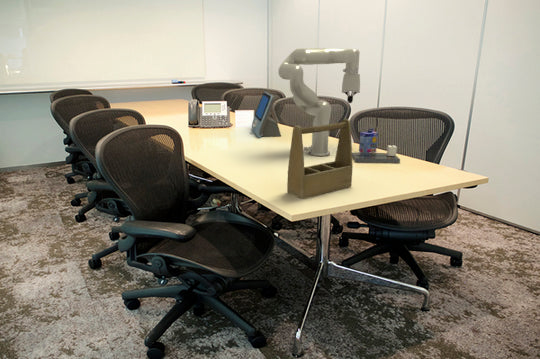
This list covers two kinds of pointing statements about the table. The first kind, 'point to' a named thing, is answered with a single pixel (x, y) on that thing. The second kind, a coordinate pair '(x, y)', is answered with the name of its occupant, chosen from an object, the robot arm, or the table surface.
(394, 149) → the fader
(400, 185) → the table surface
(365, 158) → the panel
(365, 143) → the ink cartridge box
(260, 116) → the touchscreen device
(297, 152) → the caddy
